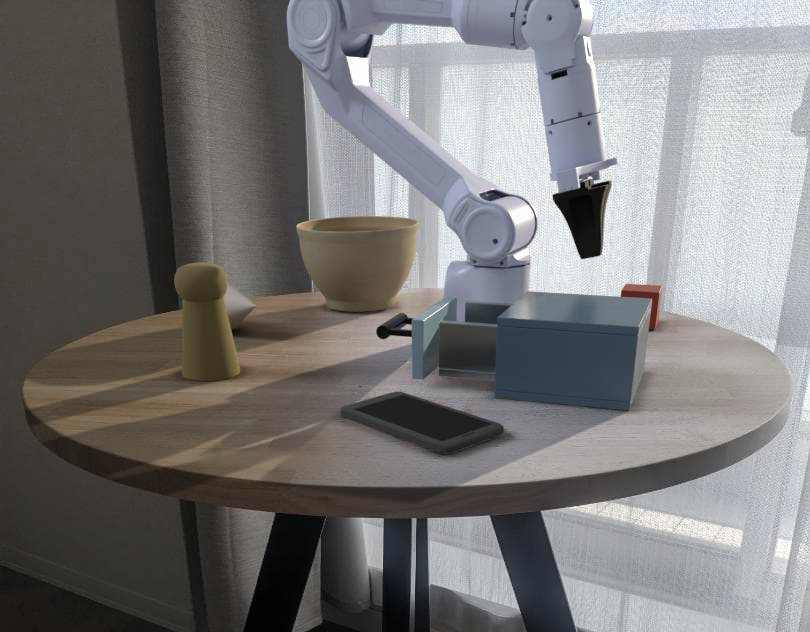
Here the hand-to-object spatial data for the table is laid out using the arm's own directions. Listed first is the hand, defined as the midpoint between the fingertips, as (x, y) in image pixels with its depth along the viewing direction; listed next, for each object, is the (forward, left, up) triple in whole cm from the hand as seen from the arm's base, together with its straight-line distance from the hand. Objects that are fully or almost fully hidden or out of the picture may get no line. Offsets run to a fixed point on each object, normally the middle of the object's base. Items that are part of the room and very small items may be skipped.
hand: (591, 257), depth 93 cm
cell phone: (-9, -30, -10) cm, 33 cm away
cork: (-35, -21, -10) cm, 43 cm away
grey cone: (-42, -5, -10) cm, 44 cm away
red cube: (+5, +14, -10) cm, 18 cm away
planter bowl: (-33, +14, -10) cm, 37 cm away
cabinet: (+1, -14, -10) cm, 17 cm away
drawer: (-10, -14, -9) cm, 20 cm away
